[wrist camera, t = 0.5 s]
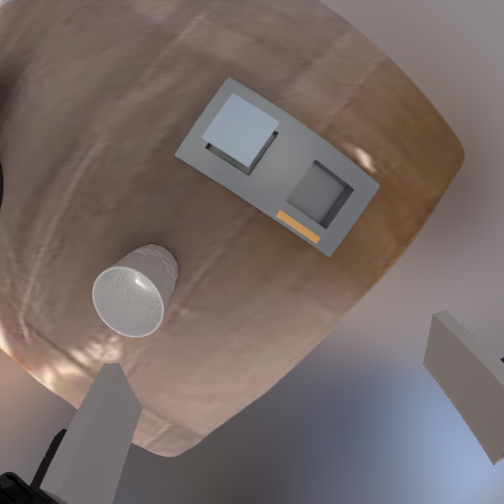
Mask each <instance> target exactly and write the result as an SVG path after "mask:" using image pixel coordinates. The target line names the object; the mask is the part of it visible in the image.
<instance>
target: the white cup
mask: <svg viewBox="0 0 504 504" xmlns="http://www.w3.org/2000/svg"><path fill="white" fill-rule="evenodd" d="M177 278H178V264H177V262H176V260H175V258H174V257H173V255H172V253H170V252H169V251H168V250H166V249H165V248H164V247H162V246H159V245H154V244H148V245H144V246H140V247H139V248H137V249H136V250H134V251H132V252H130V253H129V254H127V255H126V256H124V257H123V258H121V259H120V260H118V261H117V262H115V263H114V264H113V265H111V266H110V267H109V268H107V269H106V270H104V271H103V272H102V273H101V274H100V275H99V276H98V277H97V279H96V280H95V283H94V286H93V292H92V296H93V303H94V306H95V309H96V311H97V313H98V315H99V316H100V318H101V319H102V320H103V322H104V323H105V324H106V325H107V326H108V327H110V328H111V329H112V330H114V331H115V332H117V333H119V334H122V335H124V336H128V337H144V336H147V335H150V334H152V333H153V332H154V331H156V330H157V329H158V327H159V326H160V324H161V322H162V320H163V317H164V315H165V312H166V309H167V307H168V305H169V302H170V300H171V296H172V294H173V291H174V288H175V283H176V280H177Z"/></svg>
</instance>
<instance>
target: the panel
mask: <svg viewBox="0 0 504 504" xmlns="http://www.w3.org/2000/svg"><path fill="white" fill-rule="evenodd" d="M232 93H234V94H235V95H237V96H239V97H241V98H242V99H244V100H245V101H247V102H249V103H250V104H252V105H254V106H255V107H257V108H258V109H260V110H262V111H263V112H265V113H266V114H268V115H269V116H271V117H272V118H274V119H275V120H277V121H278V122H280V123H279V124H278V126H277V127H276V129H275V130H274V131H273V133H272V134H271V136H270V137H269V138H268V140H267V141H266V143H265V144H264V146H263V147H262V148H261V150H260V151H259V153H258V154H257V156H256V157H255V158H254V160H253V161H252V163H251V164H250V166H249V167H247V166H245V165H243V164H242V163H240V162H239V161H237V160H236V159H234V158H233V157H231V156H229V155H228V154H226V153H225V152H223V151H222V150H220V149H218V148H217V147H215V146H213V145H212V144H210V143H209V142H207V141H205V140H204V139H202V138H201V137H202V136H203V134H204V133H205V131H206V130H207V128H208V127H209V125H210V124H211V123H212V121H213V120H214V118H215V117H216V115H217V114H218V113H219V111H220V110H221V108H222V107H223V106H224V104H225V103H226V101H227V100H228V99H229V97H230V96H231V95H232ZM174 156H176V157H178V158H179V159H181V160H183V161H184V162H186V163H187V164H189V165H191V166H192V167H194V168H195V169H197V170H199V171H200V172H202V173H203V174H205V175H207V176H208V177H210V178H211V179H213V180H214V181H216V182H218V183H219V184H221V185H222V186H224V187H225V188H227V189H229V190H230V191H232V192H233V193H235V194H236V195H238V196H239V197H241V198H242V199H244V200H245V201H247V202H249V203H250V204H252V205H253V206H255V207H256V208H258V209H259V210H261V211H262V212H264V213H265V214H267V215H268V216H270V217H271V218H273V219H274V220H276V221H277V222H279V223H280V224H282V225H283V226H285V227H286V228H287V229H289V230H290V231H292V232H293V233H295V234H296V235H298V236H299V237H301V238H302V239H304V240H305V241H306V242H308V243H309V244H311V245H312V246H314V247H315V248H317V249H318V250H319V251H321V252H322V253H324V254H325V255H327V256H328V257H329V258H330V256H331V255H332V254H333V252H334V251H335V250H336V248H337V247H338V246H339V244H340V243H341V242H342V240H343V239H344V237H345V236H346V235H347V233H348V232H349V230H350V229H351V228H352V226H353V225H354V223H355V222H356V221H357V219H358V218H359V216H360V215H361V213H362V212H363V211H364V209H365V208H366V206H367V205H368V203H369V202H370V200H371V199H372V197H373V196H374V194H375V193H376V192H377V190H378V189H379V187H380V185H379V184H378V183H377V182H376V181H375V180H373V179H372V178H371V177H370V176H369V175H368V174H366V173H365V172H364V171H363V170H362V169H361V168H359V167H358V166H357V165H356V164H355V163H353V162H352V161H351V160H350V159H348V158H347V157H346V156H345V155H343V154H342V153H341V152H340V151H338V150H337V149H336V148H335V147H333V146H332V145H331V144H329V143H328V142H327V141H325V140H324V139H323V138H321V137H320V136H319V135H317V134H316V133H315V132H313V131H312V130H311V129H309V128H308V127H306V126H305V125H304V124H302V123H301V122H299V121H298V120H296V119H295V118H294V117H292V116H291V115H289V114H288V113H286V112H285V111H283V110H282V109H280V108H279V107H277V106H276V105H274V104H273V103H271V102H270V101H268V100H266V99H265V98H263V97H262V96H260V95H258V94H257V93H255V92H253V91H252V90H250V89H249V88H247V87H245V86H243V85H242V84H240V83H238V82H237V81H235V80H233V79H231V78H230V77H228V78H227V80H226V81H225V82H224V83H223V85H222V86H221V87H220V89H219V90H218V92H217V93H216V94H215V96H214V97H213V98H212V100H211V101H210V103H209V104H208V105H207V107H206V108H205V110H204V111H203V112H202V114H201V115H200V117H199V118H198V120H197V121H196V123H195V124H194V126H193V127H192V129H191V130H190V132H189V133H188V135H187V136H186V138H185V139H184V141H183V142H182V144H181V145H180V147H179V149H178V150H177V152H176V153H175V155H174Z"/></svg>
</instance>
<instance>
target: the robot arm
mask: <svg viewBox="0 0 504 504" xmlns="http://www.w3.org/2000/svg"><path fill="white" fill-rule="evenodd" d="M2 191H3V179H2V170H1V165H0V206H1V201H2ZM423 364H424V366H425V367H426V368H427V370H428V371H429V372H430V373H431V375H432V376H433V378H434V379H435V380H436V382H437V383H438V384H439V386H440V387H441V388H442V390H443V391H444V392H445V394H446V395H447V397H448V398H449V399H450V401H451V402H452V404H453V405H454V406H455V408H456V409H457V410H458V412H459V413H460V415H461V416H462V418H463V419H464V421H465V422H466V423H467V425H468V426H469V428H470V429H471V431H472V432H473V434H474V435H475V437H476V438H477V440H478V441H479V443H480V444H481V446H482V447H483V449H484V451H485V452H486V454H487V455H488V457H489V458H490V460H491V462H492V463H493V465H495V464H496V463H497V462H499V461H500V460H502V459H503V458H504V358H502V359H499V358H498V357H497V356H496V355H495V354H494V353H493V352H492V351H491V350H490V349H488V348H487V347H486V346H485V345H484V344H483V343H482V342H481V341H480V340H479V339H478V338H477V337H476V336H475V335H474V334H472V333H471V332H470V331H469V330H468V329H467V328H466V327H465V326H464V325H463V324H461V323H460V322H459V321H458V320H457V319H456V318H455V317H453V316H452V315H451V314H450V313H449V312H448V311H447V310H445V311H441V312H439V313H435V314H433V316H432V322H431V328H430V333H429V338H428V343H427V348H426V353H425V357H424V362H423ZM141 411H142V407H141V405H140V403H139V401H138V399H137V398H136V396H135V394H134V392H133V390H132V388H131V386H130V384H129V382H128V380H127V378H126V376H125V374H124V372H123V370H122V368H121V366H120V364H104V365H103V367H102V369H101V370H100V372H99V374H98V376H97V377H96V379H95V381H94V382H93V384H92V386H91V388H90V389H89V391H88V393H87V395H86V397H85V398H84V400H83V402H82V404H81V406H80V407H79V409H78V411H77V413H76V415H75V417H74V419H73V420H72V422H71V424H70V426H69V428H68V430H66V429H62V430H61V431H60V432H59V433H58V434H57V435H56V436H55V437H54V439H53V441H52V443H51V444H50V446H49V447H50V449H48V451H47V452H46V454H45V455H46V456H45V457H44V458H43V460H42V462H41V464H40V466H39V468H38V470H37V472H36V474H35V476H34V479H33V481H32V483H31V484H30V486H29V485H27V484H26V483H25V482H24V481H23V480H22V479H21V478H20V477H19V476H18V475H17V474H15V473H12V472H7V473H4V474H2V475H1V476H0V504H112V503H113V499H114V495H115V492H116V489H117V485H118V482H119V478H120V475H121V472H122V468H123V466H124V462H125V459H126V456H127V453H128V450H129V447H130V444H131V441H132V438H133V434H134V431H135V429H136V426H137V423H138V420H139V417H140V414H141Z"/></svg>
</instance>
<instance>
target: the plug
mask: <svg viewBox="0 0 504 504" xmlns="http://www.w3.org/2000/svg"><path fill="white" fill-rule="evenodd" d="M279 123H280V122H278V121H277V120H275V119H274V118H272V117H271V116H269V115H268V114H266V113H265V112H263V111H262V110H260V109H258V108H257V107H255V106H254V105H252V104H250V103H249V102H247V101H245V100H244V99H242V98H241V97H239V96H237V95H235V94H234V93H232V95H231V96H230V97H229V99H228V100H227V101H226V103H225V104H224V106H223V107H222V108H221V110H220V111H219V113H218V114H217V115H216V117H215V118H214V120H213V121H212V123H211V124H210V125H209V127H208V128H207V130H206V131H205V133H204V134H203V136H202V137H201V138H202V139H204V140H205V141H207V142H209V143H210V144H212V145H213V146H215V147H217V148H218V149H220V150H222V151H223V152H225V153H226V154H228V155H229V156H231V157H233V158H234V159H236V160H237V161H239V162H240V163H242V164H243V165H245V166H247V167H249V166H250V164H251V163H252V161H253V160H254V158H255V157H256V156H257V154H258V153H259V151H260V150H261V148H262V147H263V146H264V144H265V143H266V141H267V140H268V138H269V137H270V136H271V134H272V133H273V131H274V130H275V129H276V127H277V126H278V124H279Z"/></svg>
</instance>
